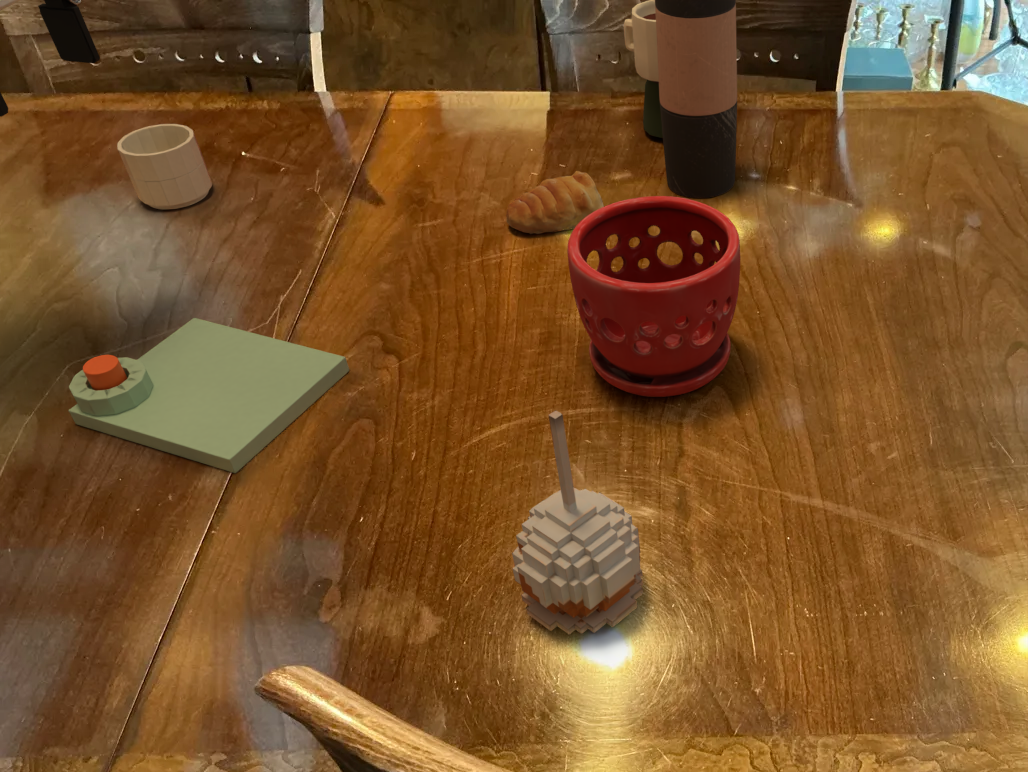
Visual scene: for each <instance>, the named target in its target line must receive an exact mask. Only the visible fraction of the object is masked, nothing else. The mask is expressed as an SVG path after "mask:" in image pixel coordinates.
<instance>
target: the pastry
mask: <svg viewBox="0 0 1028 772" xmlns="http://www.w3.org/2000/svg"><path fill="white" fill-rule="evenodd" d="M604 206H605V205H604V202H603V199H602V196H601V194H600V192H599V191H598V189H597V185H596V183H595V181H594V180H593V178H592V177H591V176H590V175H589V174H588V173H587V172H582V171H579V170H576V171H574V173H572V175H565V176H562V175H561V176H557V177H554V178H546V179H544V180H542V181H541V182H540V183H539V184H538V185H537V186H535V187H534V188H533V189H531V190H530V191H525V192H523V193H522V194H521V195H519V196H518V197H517V198H515V199H514V200H513V201H512V202H511V203H508V206H507V208H506V215H505V217H506V219H505V222H506V223H507V225H508V226H509V227H511V228H513V229H515V230H516V231H520V232H522V233H527V234H530V235H533V234H536V235H541V234H543V233H556V232H562V231H569V230H574V228H575V227H576V226H577V224H578V223H579V222H580V221H581V220H583V219H584V218H585V217H586V216H588V215H589V214H591V213H592V212H594V211H596V210H598V209H600V208H602V207H604Z"/></svg>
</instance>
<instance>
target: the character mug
mask: <svg viewBox="0 0 1028 772" xmlns="http://www.w3.org/2000/svg"><path fill="white" fill-rule="evenodd" d="M623 34H624V37H623V38H624V45H625V48H626V50H628V51H630V52H633V54H634V55H633V56H634V67H635V71H636V74H637V75H639V77H641V78H642V79H645V80H646V81H645V84H644V95H643V97H644V98H643V111H642V112H643V114H642V115H643V116H642V117H643V118H642V124H643V125H642V126H643V130H644V131H645V132H646V133H647V134H649V135H650V136H651V137H656V138H659V139H663V133H662V121H661V110H660V97H659V76H658V55H657V33H656V12H655V0H645V1H642V2H640V3H637V4H636V5H634V6H633V7H632V8H631V18H626V19H624V21H623Z"/></svg>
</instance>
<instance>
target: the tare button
mask: <svg viewBox="0 0 1028 772" xmlns="http://www.w3.org/2000/svg"><path fill="white" fill-rule="evenodd" d="M118 358H119V357H117V356H115V355H113V354H101V355H97V356H95V357H92V358H90V359H88V360H87V361H86V362H85V363H84V364H83V365H82V370H83V372H84V373H85V375H86V377H87V379H88V381H89V383H90V385H91V387H92V388H93V389H94V390H96V391H98V390H108V389H111V388H113V387H116V386H119V385H120V384H121V383H123V382H124V381H125V380H127V376H126V374H125V372H124V370H123V368H122V366H121V364H120V362H119V360H118Z"/></svg>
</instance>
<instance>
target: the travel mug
mask: <svg viewBox="0 0 1028 772" xmlns="http://www.w3.org/2000/svg"><path fill="white" fill-rule="evenodd" d="M655 12H656V33H657V55H658V76H659V97H660V110H661V121H662V133H663V138H662V143H663V144H662V145H663V155H664V165H665V175H666V183H667V186H668V188H669V190H670V191H672V192H673V194H676V195H679V196H681V197H684V198H692V199H709V198H714V197H719V196H721V195H724V194H726V193H727V192H729V191H730V190H731V189H732V188H733V187H734V186H735V182H736V167H737V164H736V163H737V127H738V126H737V124H738V62H737V59H738V58H737V57H738V56H737V55H738V53H737V0H655Z"/></svg>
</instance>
